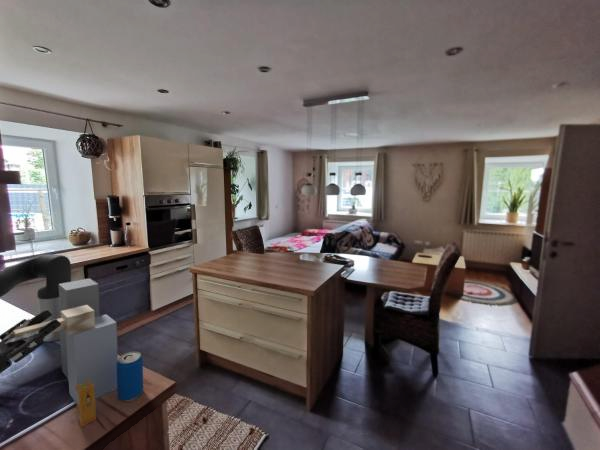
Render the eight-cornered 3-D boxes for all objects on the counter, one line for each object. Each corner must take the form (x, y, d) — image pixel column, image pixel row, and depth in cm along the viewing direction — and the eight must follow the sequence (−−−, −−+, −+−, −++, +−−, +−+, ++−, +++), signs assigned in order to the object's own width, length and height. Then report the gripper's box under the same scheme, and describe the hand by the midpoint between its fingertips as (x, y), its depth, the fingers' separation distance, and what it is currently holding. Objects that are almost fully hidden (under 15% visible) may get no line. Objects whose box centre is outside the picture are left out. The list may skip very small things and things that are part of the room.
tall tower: (62, 370, 91) (56, 282, 87) (91, 359, 97) (87, 277, 93) (73, 387, 84) (68, 292, 80) (104, 374, 90) (100, 285, 86)
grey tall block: (69, 393, 81) (65, 325, 79) (108, 376, 89) (106, 314, 87) (78, 406, 76) (74, 335, 74) (118, 387, 84) (116, 322, 82)
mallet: (18, 350, 66) (16, 331, 66) (13, 341, 70) (11, 323, 69) (95, 327, 79) (94, 310, 78) (87, 320, 82) (86, 304, 81)
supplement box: (92, 413, 75) (90, 378, 73) (96, 419, 73) (94, 384, 71) (76, 420, 72) (74, 385, 71) (80, 428, 70) (79, 391, 69)
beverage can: (135, 384, 86) (134, 348, 85) (147, 392, 83) (147, 355, 81) (113, 397, 81) (111, 358, 79) (125, 406, 77) (123, 366, 76)
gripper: (-15, 367, 69) (56, 317, 79) (-7, 394, 60) (72, 334, 71) (-42, 349, 65) (37, 299, 75) (-37, 375, 57) (51, 314, 67)
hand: (53, 316), depth 73 cm, fingers open, 8 cm apart
